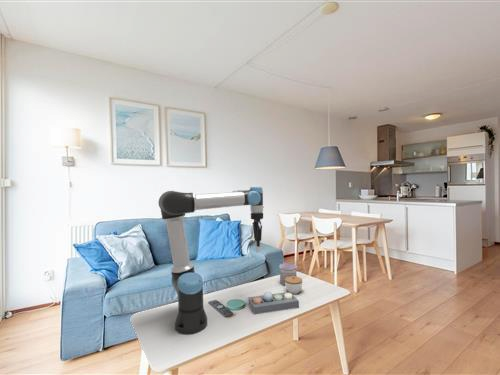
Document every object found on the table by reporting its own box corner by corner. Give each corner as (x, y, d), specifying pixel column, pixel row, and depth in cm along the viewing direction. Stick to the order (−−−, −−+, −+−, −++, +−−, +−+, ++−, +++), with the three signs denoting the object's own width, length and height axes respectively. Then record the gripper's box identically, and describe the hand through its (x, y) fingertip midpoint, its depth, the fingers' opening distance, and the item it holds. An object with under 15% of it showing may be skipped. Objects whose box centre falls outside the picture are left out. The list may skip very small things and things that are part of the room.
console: (254, 314, 131) (254, 307, 131) (248, 303, 142) (248, 297, 142) (298, 307, 137) (298, 300, 137) (289, 297, 148) (289, 291, 148)
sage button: (275, 304, 138) (275, 298, 138) (273, 301, 142) (273, 294, 142) (283, 303, 139) (283, 297, 139) (280, 300, 143) (280, 293, 143)
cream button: (286, 303, 139) (286, 296, 139) (283, 299, 143) (283, 293, 143) (293, 302, 140) (293, 295, 140) (290, 298, 144) (290, 292, 144)
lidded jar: (301, 288, 161) (301, 273, 161) (303, 295, 151) (303, 280, 151) (284, 287, 162) (284, 273, 162) (285, 295, 152) (285, 279, 152)
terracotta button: (254, 307, 135) (254, 301, 135) (252, 304, 139) (252, 297, 139) (262, 306, 136) (262, 300, 136) (260, 303, 140) (260, 296, 140)
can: (300, 283, 169) (300, 265, 169) (289, 288, 162) (289, 269, 161) (287, 278, 178) (286, 261, 178) (276, 283, 170) (275, 265, 170)
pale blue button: (265, 302, 136) (265, 296, 136) (262, 299, 140) (262, 292, 140) (273, 301, 137) (272, 295, 137) (270, 297, 141) (270, 291, 141)
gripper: (266, 213, 147) (267, 253, 147) (259, 210, 159) (260, 248, 160) (253, 213, 145) (254, 254, 145) (248, 211, 158) (249, 249, 158)
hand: (257, 251), depth 152 cm, fingers closed
